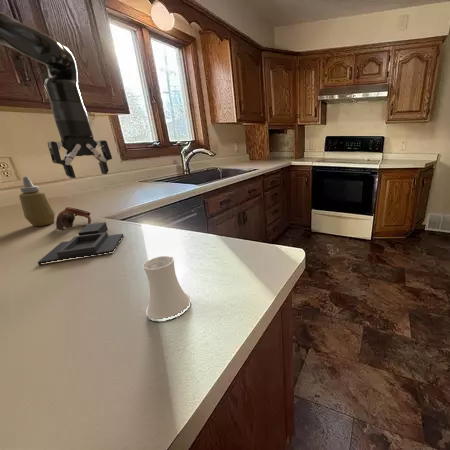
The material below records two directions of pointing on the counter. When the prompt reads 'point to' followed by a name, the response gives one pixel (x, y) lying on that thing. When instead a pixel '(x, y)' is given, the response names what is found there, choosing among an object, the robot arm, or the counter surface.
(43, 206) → the squeeze bottle
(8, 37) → the robot arm
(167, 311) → the vase
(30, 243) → the counter surface
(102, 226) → the dark grey block
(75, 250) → the base pad
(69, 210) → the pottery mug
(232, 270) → the counter surface
